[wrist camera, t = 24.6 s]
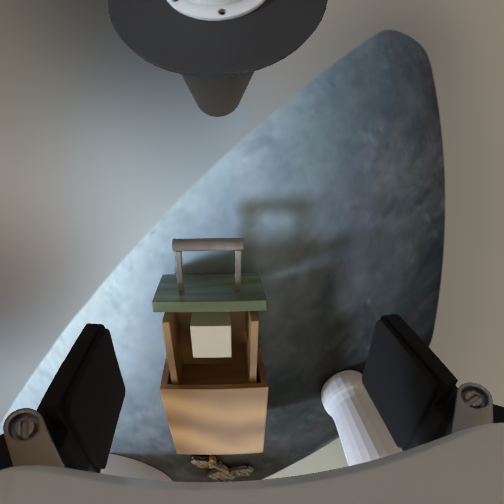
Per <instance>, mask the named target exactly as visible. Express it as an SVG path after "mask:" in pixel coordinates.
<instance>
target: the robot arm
mask: <svg viewBox="0 0 504 504" xmlns="http://www.w3.org/2000/svg"><path fill="white" fill-rule="evenodd" d="M175 1H176V2H175ZM265 1H266V0H178V1H177V0H167V2H168V3H169V4H170V5H171V6H172V7H173V8H174V9H175V10H177V11H178V12H180V13H182V14H184V15H186V16H188V17H192V18H195V19H199V20H207V21H221V20H229V19H234V18H237V17H241V16H243V15H246V14H248V13H250V12H252V11H254V10H255V9H257V8H258V7H260V6H261V5H262V4H263V3H264V2H265ZM221 13H224V15H220V14H221ZM457 381H458V380H457V379H456V378H455V377H454V375H453V374H452V373H451V372H450V371H449V370H448V368H447V367H446V366H445V365H444V364H443V363H442V362H441V361H440V359H439V358H438V357H437V356H436V355H435V354H434V353H433V352H432V350H431V349H430V348H429V347H428V346H427V345H426V344H425V343H424V342H423V341H422V340H421V338H420V337H419V336H418V335H417V334H416V333H415V332H414V331H413V330H412V329H411V328H410V327H409V326H408V324H407V323H406V322H405V321H404V320H403V319H402V318H401V317H400V316H399V315H398V314H391V315H383V316H382V317H381V318H380V320H378V321H377V323H376V326H375V330H374V334H373V338H372V342H371V346H370V350H369V353H368V357H367V360H366V364H365V367H364V371H363V374H362V383H363V385H364V387H365V389H366V391H367V392H368V394H369V396H370V398H371V400H372V401H373V403H374V405H375V407H376V409H377V411H378V412H379V414H380V416H381V418H382V420H383V421H384V423H385V425H386V427H387V429H388V431H389V433H390V434H391V436H392V438H393V440H394V442H395V444H396V445H397V447H398V448H402V450H403V451H402V452H399V453H396V454H392V455H389V456H386V457H382V458H379V459H375V460H372V461H368V462H364V463H360V464H356V465H352V466H348V467H343V468H338V469H333V470H329V471H323V472H318V473H312V474H306V475H299V476H292V477H285V478H276V479H266V480H254V481H238V482H175V481H160V480H148V479H138V478H129V477H121V476H114V475H107V474H101V473H100V471H101V469H105V468H106V465H107V461H108V456H109V452H110V448H111V444H112V440H113V437H114V433H115V429H116V425H117V422H118V418H119V414H120V411H121V407H122V404H123V400H124V397H125V386H124V382H123V379H122V376H121V372H120V369H119V365H118V362H117V358H116V354H115V351H114V347H113V343H112V339H111V335H110V331H109V330H108V329H105V327H104V325H102V324H86V326H85V327H84V329H83V330H82V332H81V334H80V335H79V337H78V338H77V340H76V342H75V343H74V345H73V347H72V348H71V350H70V352H69V353H68V355H67V357H66V359H65V360H64V362H63V363H62V365H61V366H60V368H59V370H58V372H57V373H56V375H55V377H54V379H53V381H52V382H51V384H50V386H49V388H48V390H47V392H46V393H45V395H44V397H43V399H42V401H41V403H40V405H39V407H38V409H37V411H36V410H33V409H30V408H23V409H18V410H16V411H14V412H12V413H11V414H10V415H9V416H8V417H7V419H6V420H5V422H4V426H3V430H4V434H2V435H0V504H504V407H501V406H498V405H494V404H493V400H492V396H491V394H490V392H489V391H488V390H487V389H486V388H484V387H483V386H481V385H479V384H476V383H465V384H462V385H461V386H460V387H459V388H457V387H456V383H457Z"/></svg>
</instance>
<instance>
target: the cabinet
mask: <svg viewBox="0 0 504 504" xmlns="http://www.w3.org/2000/svg"><path fill="white" fill-rule="evenodd" d="M268 388H269V386H268V381H267V377H266V372H265V367H264V363H263V358H262V353H261V349H260V345H258V355H257V379H256V383H252V384H228V385H172V381H171V376H170V370H169V364H168V358H167V355H166V360H165V365H164V370H163V375H162V380H161V386H160V391H161V395H162V399H163V403H164V408H165V412H166V415H167V419H168V423H169V427H170V431H171V434H172V438H173V441H174V445H175V448H176V452H177V454H194V455H219V454H245V453H260V452H263V447H264V436H265V424H266V413H267V401H268Z"/></svg>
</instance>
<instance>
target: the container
mask: <svg viewBox="0 0 504 504" xmlns="http://www.w3.org/2000/svg"><path fill="white" fill-rule="evenodd" d="M100 473H101V474H107V475H114V476H121V477H129V478H138V479H148V480H160V481H172V479H171V478H169V477H168V476H167V475H166V474H164V473H163V472H161V471H160V470H158V469H156V468H154V467H152V466H150V465H147V464H145V463H142V462H140V461H137V460H134V459H131V458H127V457H124V456H120V455H115V454H110V453H109V456H108V461H107V465H106V468H105V469H101V471H100Z"/></svg>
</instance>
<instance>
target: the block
mask: <svg viewBox="0 0 504 504" xmlns="http://www.w3.org/2000/svg"><path fill="white" fill-rule="evenodd" d="M190 330H191V341H192V350H193V358H218V357H232V349H231V318H230V312H192V316H191V324H190Z"/></svg>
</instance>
